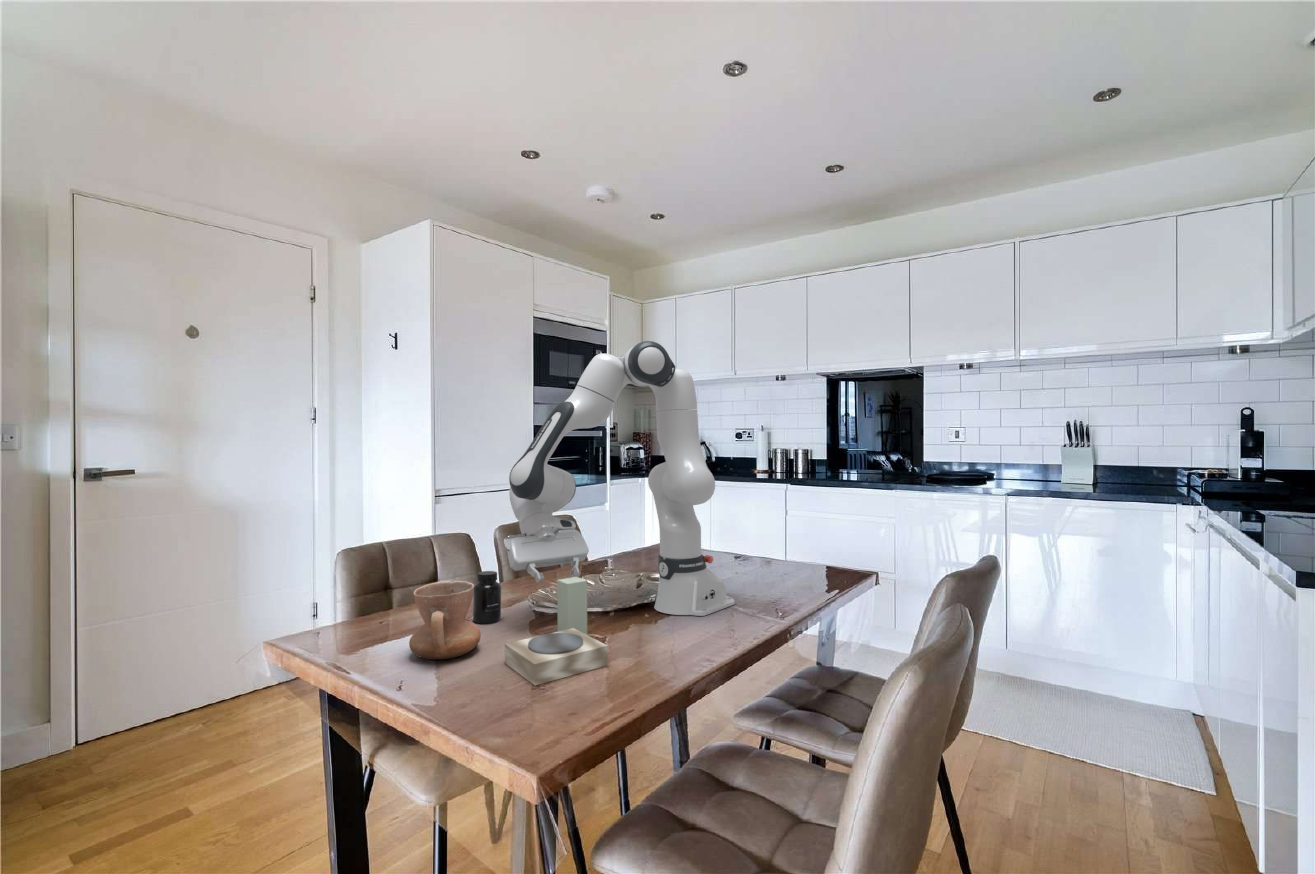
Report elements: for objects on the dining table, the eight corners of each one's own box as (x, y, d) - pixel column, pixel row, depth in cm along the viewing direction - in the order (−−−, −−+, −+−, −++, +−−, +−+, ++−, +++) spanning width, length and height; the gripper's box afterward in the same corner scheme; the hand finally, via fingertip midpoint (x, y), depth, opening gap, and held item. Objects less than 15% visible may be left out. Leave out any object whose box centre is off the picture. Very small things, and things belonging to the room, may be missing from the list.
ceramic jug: (421, 640, 139) (420, 578, 138) (487, 637, 140) (485, 575, 140) (396, 673, 121) (394, 602, 120) (471, 668, 122) (470, 598, 122)
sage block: (576, 631, 144) (576, 576, 144) (587, 636, 140) (586, 580, 140) (557, 635, 141) (557, 579, 141) (568, 641, 137) (567, 583, 137)
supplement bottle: (493, 625, 149) (493, 576, 149) (467, 623, 151) (467, 575, 151) (505, 616, 156) (505, 570, 156) (481, 615, 157) (480, 569, 157)
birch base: (573, 646, 134) (573, 625, 134) (607, 665, 123) (607, 642, 123) (504, 662, 125) (504, 640, 125) (534, 685, 113) (534, 660, 113)
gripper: (504, 528, 146) (522, 576, 138) (579, 520, 158) (599, 564, 150) (497, 544, 149) (514, 592, 141) (571, 535, 161) (590, 579, 154)
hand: (558, 578), depth 146 cm, fingers open, 8 cm apart
